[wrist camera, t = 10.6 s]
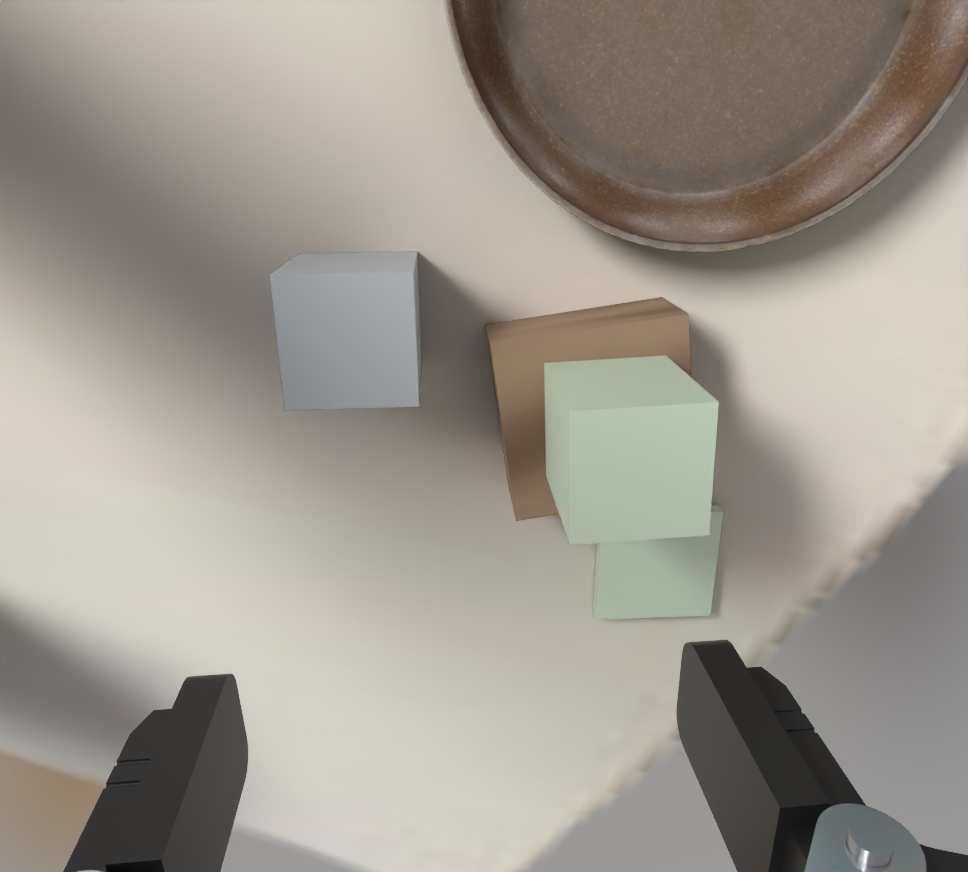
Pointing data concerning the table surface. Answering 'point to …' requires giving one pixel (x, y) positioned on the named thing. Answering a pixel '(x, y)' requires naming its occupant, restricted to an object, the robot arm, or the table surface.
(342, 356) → the slate cube
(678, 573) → the sage tile
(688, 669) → the robot arm
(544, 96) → the plant saucer
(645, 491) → the sage cube
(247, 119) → the table surface
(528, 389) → the walnut block
